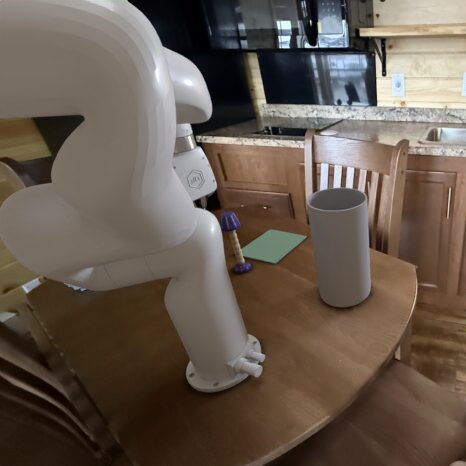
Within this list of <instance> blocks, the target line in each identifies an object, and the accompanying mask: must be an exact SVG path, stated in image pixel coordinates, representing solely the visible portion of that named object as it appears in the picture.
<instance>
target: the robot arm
mask: <svg viewBox="0 0 466 466" xmlns="http://www.w3.org/2000/svg"><path fill="white" fill-rule="evenodd" d="M211 99H212V98H211V95H210V92H209V89H208V86H207V83H206V81H205V79H204V76H203V74H202V73H201V71H200V69H199V68H198V67H197V66H196V65H195V63H193V62H192V61H191V60H190V59H188V58H187V57H185V56H184V55H182V54H180V53H178V52H175V51H173V50H171V49H169V48H167V47H165V46H163V44H162V41H161V38H160V36H159V34H158V33H157V30H156V29H155V27H154V25H153V24H152V23H151V21H150V20H149V18H147V16H146V15H145V14H144V13H143V11H141V10H139V9H138V8H137V7H136V6H135V5H133V4H132V3H130V2H129V1H128V0H0V120H3V119H4V120H6V119H22V118H23V119H25V118H44V117H45V118H46V117H63V116H64V117H65V116H83V118H84V120H83V121H82V122H81V123H80V124H79V125H78V126H77V127H76V128H75V129H74V130H73V131H72V132H71V133H70V135H69V136H68V137H66V139H65V141H64V142H63V144H62V145H61V146H60V149H59V150H58V152H57V154H56V156H55V158H54V161H53V163H52V166H51V172H50V179H51V182H48V183H47V182H46V183H41V184H35V185H31V186H27V187H24V188H22V189H19V190H17V191H14V192H13V193H12V194H10V195H9V196H8V197H7V198H6V199H5V200H4V201H3V202H2V204H1V206H0V239H1V241H2V244H4V246H5V248H6V249H7V251H8V252H9V253H10V255H11V256H12V257H13V258H14V259H15V260H16V261H17V262H18V263H19V264H21V265H22V266H23V267H24V268H25V269H27V270H29V272H32V273H34V274H35V275H38V276H41V277H43V278H46V279H50V280H53V281H56V282H59V283H63V284H66V285H70V286H73V287H76V288H79V289H84V290H88V291H93V292H106V291H112V290H117V289H123V288H127V287H132V286H135V285H140V284H144V283H148V282H152V281H157V280H162V279H168V278H171V279H170V281H169V282H168V284H167V286H166V289H165V291H164V297H163V302H164V306H165V309H166V311H167V314H168V315H169V318H170V320H171V322H172V324H173V326H174V328H175V330H176V333H177V335H178V337H179V339H180V341H181V343H182V346H183V347H184V349H185V351H186V354H187V356H188V358H189V362H188V364H187V366H186V369H185V376H186V377H185V378H186V380H187V382H188V384H189V385H190V386H191V387H192V388H193V389H194V390H196V391H197V392H201V393H216V392H217V393H218V392H221V391H224V390H227V389H231V388H232V387H234V386H236V385H238V384H239V383H242V381H245V379H247V378H248V377H249V376H251V377H254V378H259V377H260V376H261V374H262V373H263V370H264V368H263V366H262V365H260V364H259V363H263V362H264V361H265V360H266V354H264V353H262V351H263V350H262V346H261V344H260V341H259V339H258V338H256V337H255V336H254V335H253V334H250V333H248V331H247V328H246V325H245V322H244V319H243V316H242V312H241V310H240V306H239V302H238V301H237V297H236V293H235V291H234V288H233V284H232V281H231V277H230V274H229V270H228V266H227V262H226V256H225V255H226V254H225V248H224V247H225V246H224V239H223V233H222V232H223V231H222V230H221V228H220V221H219V220H218V219H217V217H216V215H215V214H213V213H212V212H210V211H209V210H207V209H206V208H207V206H208V204H207V202H208V199H209V197H210V196H212V195H213V194H214V193H215V191H216V190H217V189H218V184H217V180H216V177H215V174H214V172H213V169H212V166H211V164H210V161H209V159H208V157H207V155H206V154H205V152H204V150H203V149H202V148H201V146H198V145H197V143H196V140H195V136H194V133H193V128H192V125H191V124H202V123H205V122H208V121H209V120H210V119H211V117H212V115H213V103H212V100H211Z"/></svg>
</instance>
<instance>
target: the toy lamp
mask: <svg viewBox="0 0 466 466" xmlns="http://www.w3.org/2000/svg"><path fill="white" fill-rule="evenodd" d="M219 225H220V228H221V232H227V233H228V234H229V239H230V243H231V244H232V246H231V247H232V248H233V253H234V255H235V254H236V255H235V258H236V260H237V263H236V264H235V266H234V269H233V270H234V273H236V274H244V273H247V272H248V271H250V270H251V269H252V264H251V263H250V262H248V261H246V260H245V257H243V254H242V250H241V249H242V248H241V244H240V242H239V239H238V234H237V233H236V230H238V229H240V228H241V226H242V224H241V222H240V221H239V219H238V217H237V216H236V214H235V213H234V212H233V211H223V212H222V213H221V214H220V215H219Z"/></svg>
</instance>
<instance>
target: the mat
mask: <svg viewBox="0 0 466 466" xmlns="http://www.w3.org/2000/svg"><path fill="white" fill-rule="evenodd" d="M307 237H308V236H307V235H302V234H297V233H293V232H287V231H283V230H278V229H272V228H270V229H268V230H267V231H265V232H263V234H261V235H259V236H258V237H257V238H255V239H254V240H252V241H251V242H249V243H248V244H247V245H245V246H243V247H242V248H241V250H242V254H243V258H246V259H251V260H255V261H259V262H263V263H269V264H271V265H276V264H277V263H279V261H280V260H282V259H283V258H284V257H285V256H286V255H288V254H289V253H290V252H291V251H293V250H294V249H295V248H296V247H297V246H298V245H300V244H301V243H302V242H303V241H304V240H306V238H307ZM234 256H236V254H235V253H234Z"/></svg>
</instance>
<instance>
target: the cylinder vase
mask: <svg viewBox="0 0 466 466" xmlns="http://www.w3.org/2000/svg"><path fill="white" fill-rule="evenodd" d="M306 209H307V215H308V222H309V229H310V237H311V244H312V251H313V256H314V263H315V270H316V276H317V277H316V278H317V285H318V292H319V296H320V298H321V300H322V301H323V302H324V303H326V304H327V305H329V306H331V307H334V308H335V307H336V308H349V307H354V306H356V305H358V304H361V303H362V302H364V301H365V300H366V299H367V298H368V297H369V295H370V293H371V289H372V285H371V284H372V283H371V257H370V255H371V254H370V235H369V232H370V231H369V210H368V209H369V208H368V196H367V193H365V192H363V191H362V190H359V189H357V188H351V187H331V188H324V189H321V190H317V191H315V192H313V193H311V194H309V196H307V198H306Z"/></svg>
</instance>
